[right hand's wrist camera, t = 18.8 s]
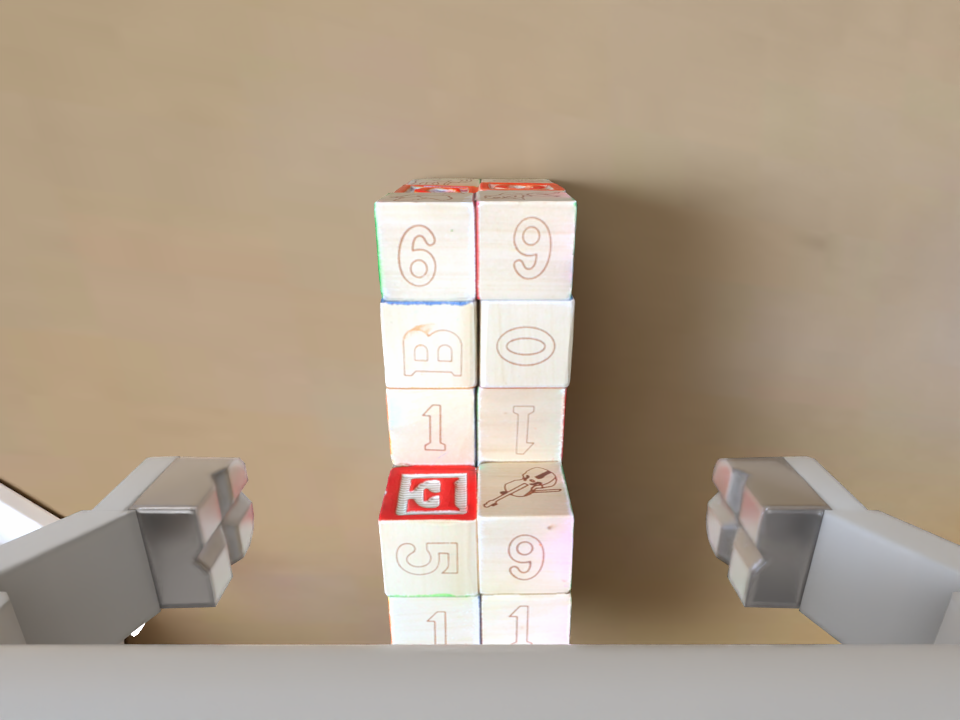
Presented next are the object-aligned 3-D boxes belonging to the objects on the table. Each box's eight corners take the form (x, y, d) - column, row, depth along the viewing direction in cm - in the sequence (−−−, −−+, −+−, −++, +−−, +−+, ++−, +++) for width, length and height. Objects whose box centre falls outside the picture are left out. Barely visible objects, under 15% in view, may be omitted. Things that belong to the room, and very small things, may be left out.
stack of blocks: (408, 175, 26) (351, 209, 14) (549, 176, 26) (607, 210, 14) (423, 564, 33) (394, 789, 22) (532, 564, 33) (560, 789, 22)
